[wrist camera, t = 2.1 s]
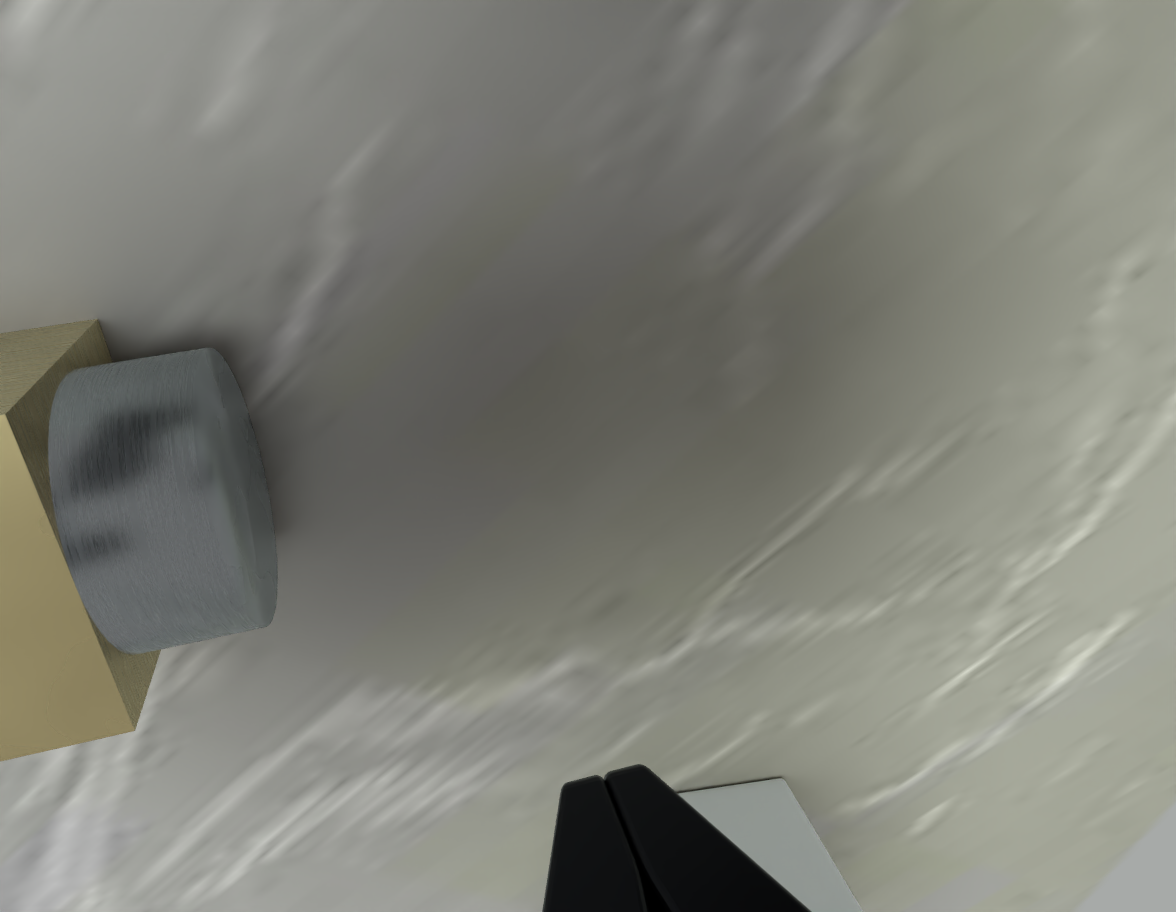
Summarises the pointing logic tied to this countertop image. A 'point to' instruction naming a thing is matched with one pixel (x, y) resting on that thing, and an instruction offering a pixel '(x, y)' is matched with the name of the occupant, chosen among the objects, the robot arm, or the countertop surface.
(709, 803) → the milk
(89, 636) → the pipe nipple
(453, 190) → the countertop surface
